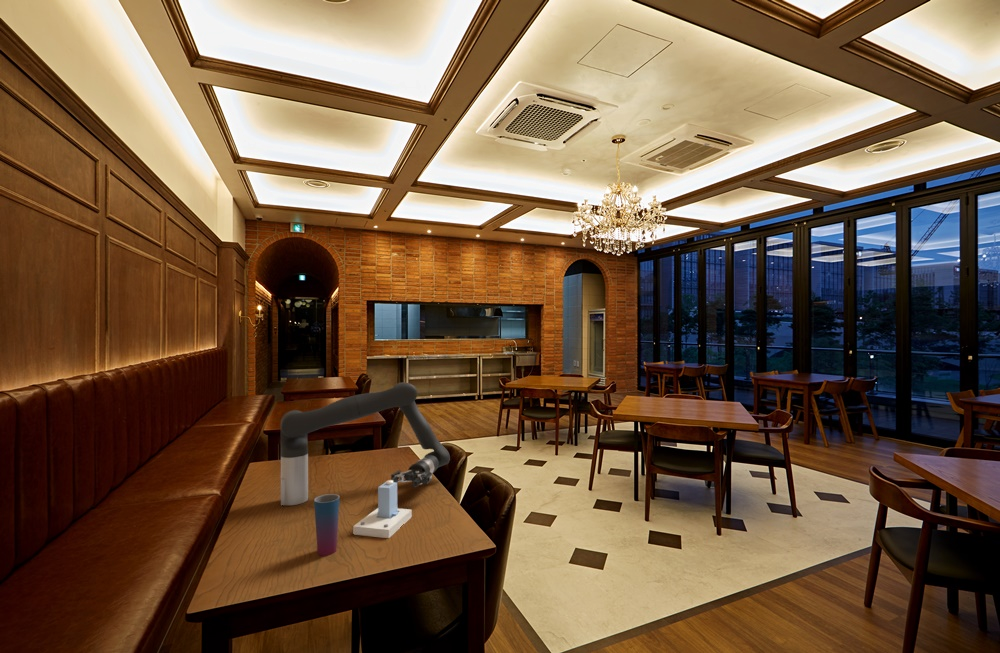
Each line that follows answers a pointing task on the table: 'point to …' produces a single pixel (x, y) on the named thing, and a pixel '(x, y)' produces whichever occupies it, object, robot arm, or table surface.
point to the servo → (387, 500)
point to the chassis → (381, 524)
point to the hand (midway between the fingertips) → (402, 483)
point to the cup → (326, 523)
